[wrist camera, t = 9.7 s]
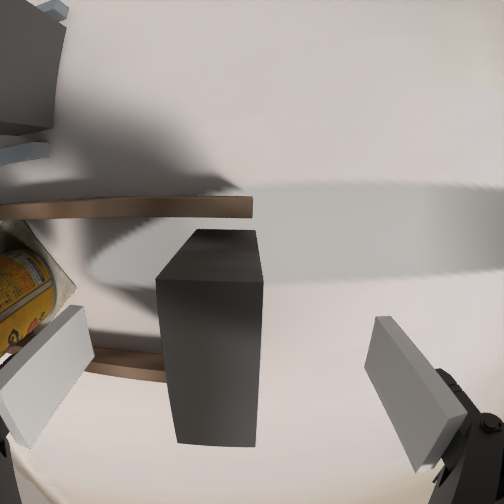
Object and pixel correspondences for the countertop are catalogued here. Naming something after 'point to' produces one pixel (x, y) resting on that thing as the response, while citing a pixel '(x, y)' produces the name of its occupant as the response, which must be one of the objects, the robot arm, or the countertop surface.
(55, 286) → the condiment
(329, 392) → the countertop surface
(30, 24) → the grey frame
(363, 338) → the countertop surface
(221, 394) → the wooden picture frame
